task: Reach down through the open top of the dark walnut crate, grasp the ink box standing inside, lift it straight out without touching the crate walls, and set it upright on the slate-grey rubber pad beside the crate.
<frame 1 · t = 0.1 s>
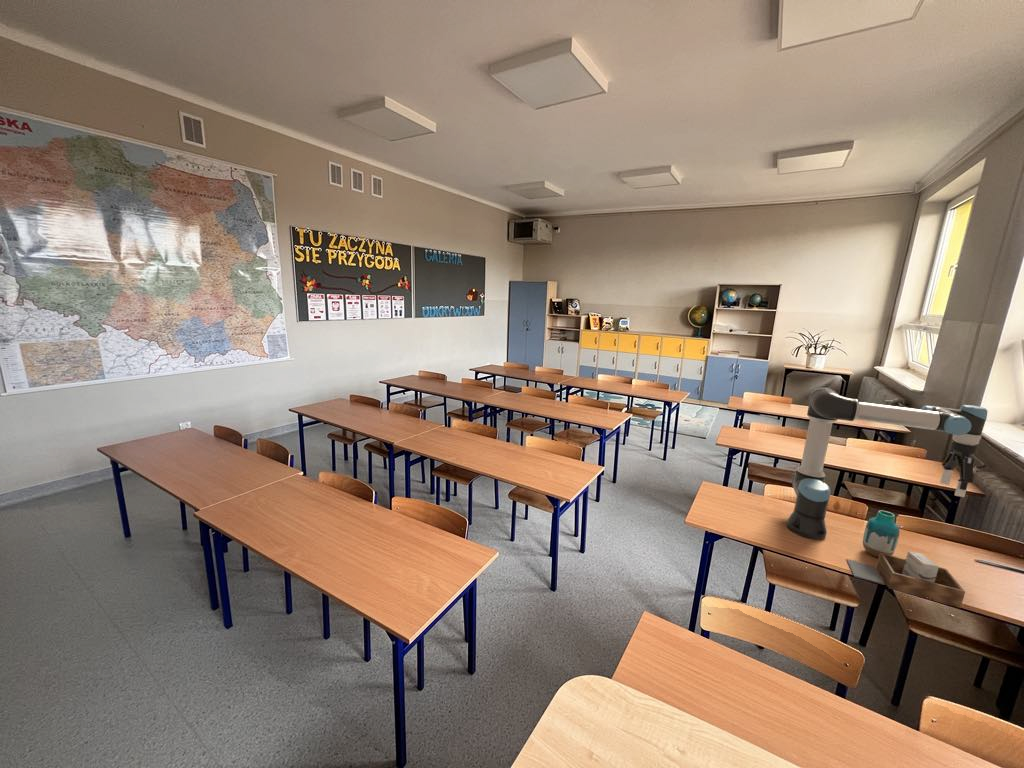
hand: (951, 489, 177), 28 cm above the table, fingers open, 13 cm apart
vase: (876, 555, 176), on the table
ink box: (915, 586, 157), resting in crate
crate: (915, 586, 157), on the table
zone pad: (864, 571, 164), on the table
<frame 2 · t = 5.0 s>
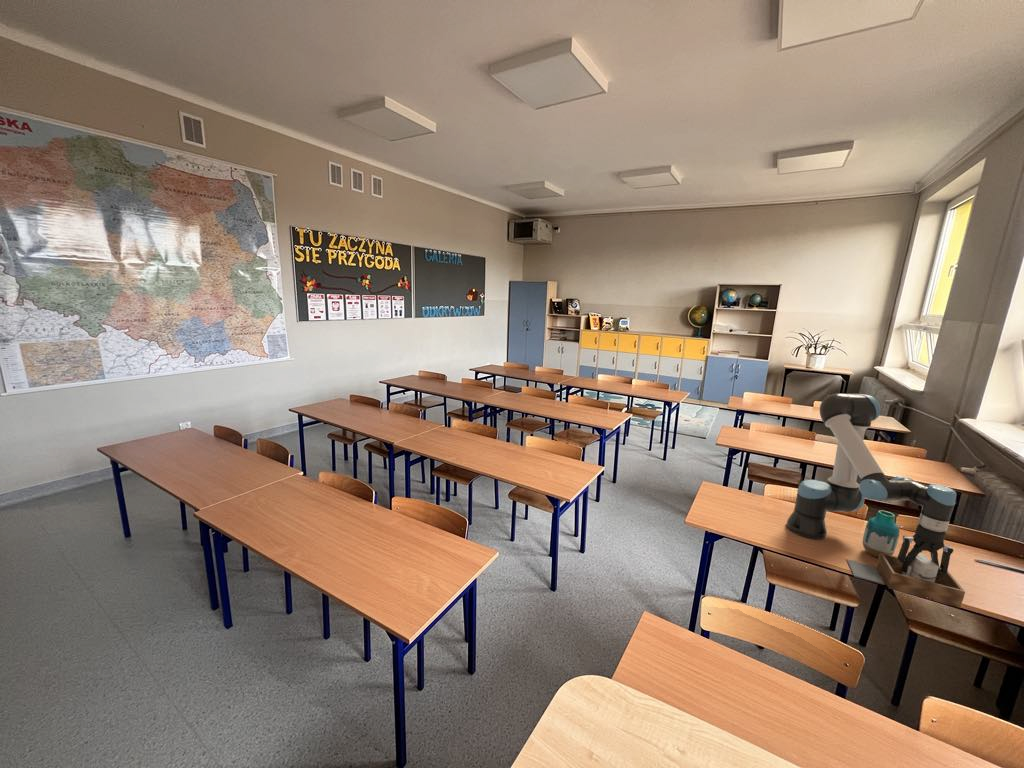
hand: (916, 582, 157), 1 cm above the table, fingers closed on ink box, 6 cm apart
ink box: (915, 586, 157), resting in crate, touching gripper
everything else where it was.
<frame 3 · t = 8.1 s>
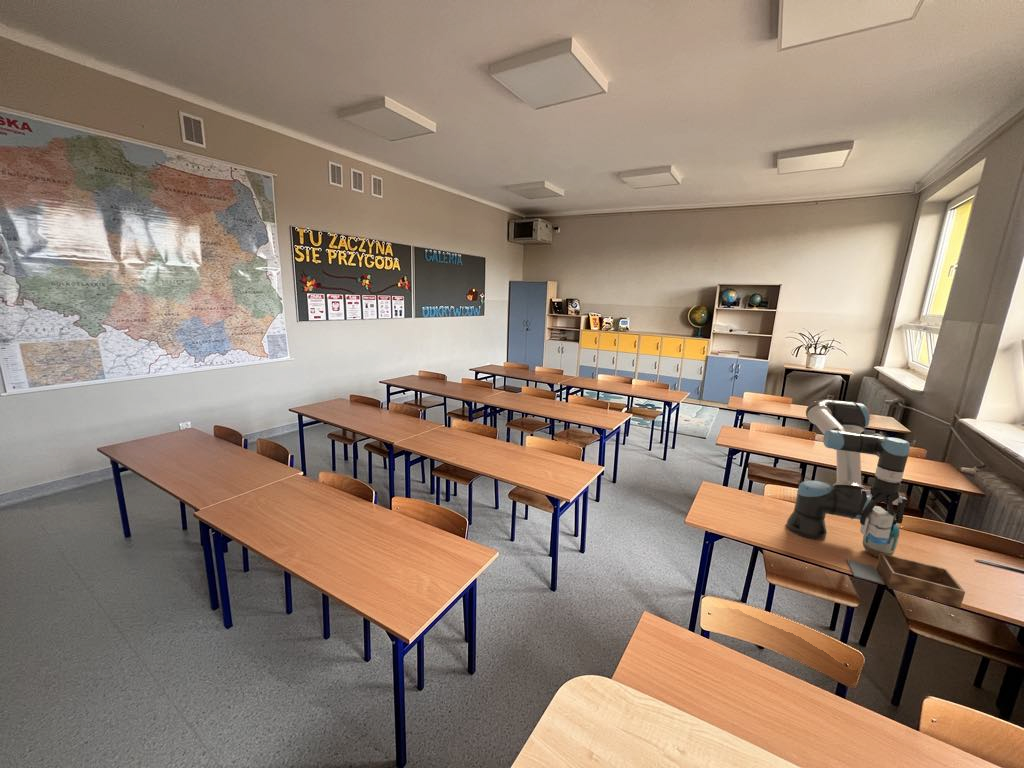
hand: (873, 534, 161), 16 cm above the table, fingers closed on ink box, 6 cm apart
ink box: (872, 538, 161), point 15 cm above the table, touching gripper
everything else where it was.
when the fingers open (4 cm above the table, at t = 11.0 s): ink box drops 2 cm, resting on zone pad.
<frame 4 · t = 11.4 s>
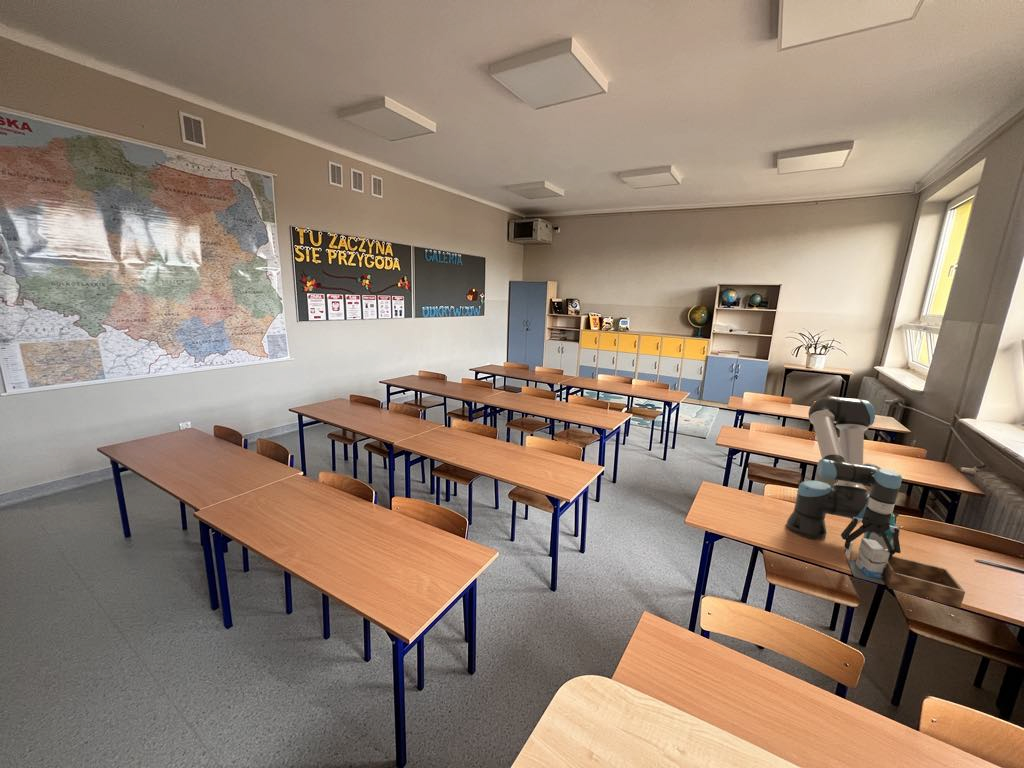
hand: (864, 561, 164), 5 cm above the table, fingers open, 10 cm apart
ink box: (867, 571, 164), resting on zone pad
everything else where it was.
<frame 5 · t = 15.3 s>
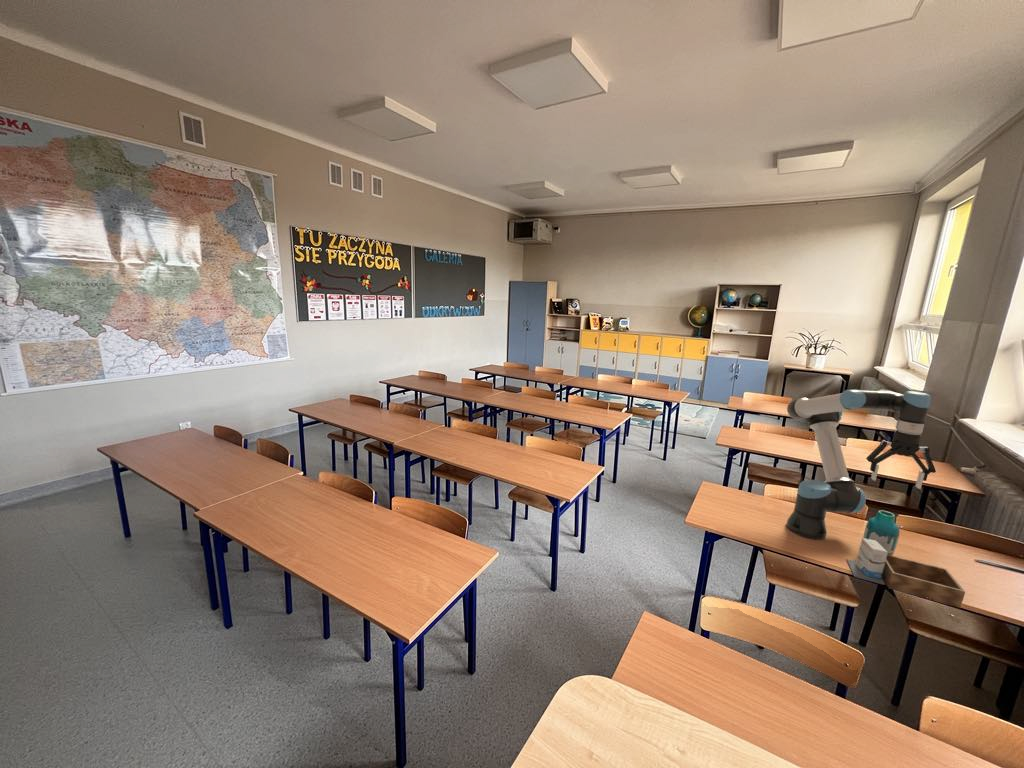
hand: (895, 483, 164), 35 cm above the table, fingers open, 13 cm apart
nothing on the table moved.
at the end: ink box inside the target area on the zone pad (1.0 cm from its centre), point 0.4 cm above the zone pad's base; ink box tilted 0°; the gripper is holding nothing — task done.
